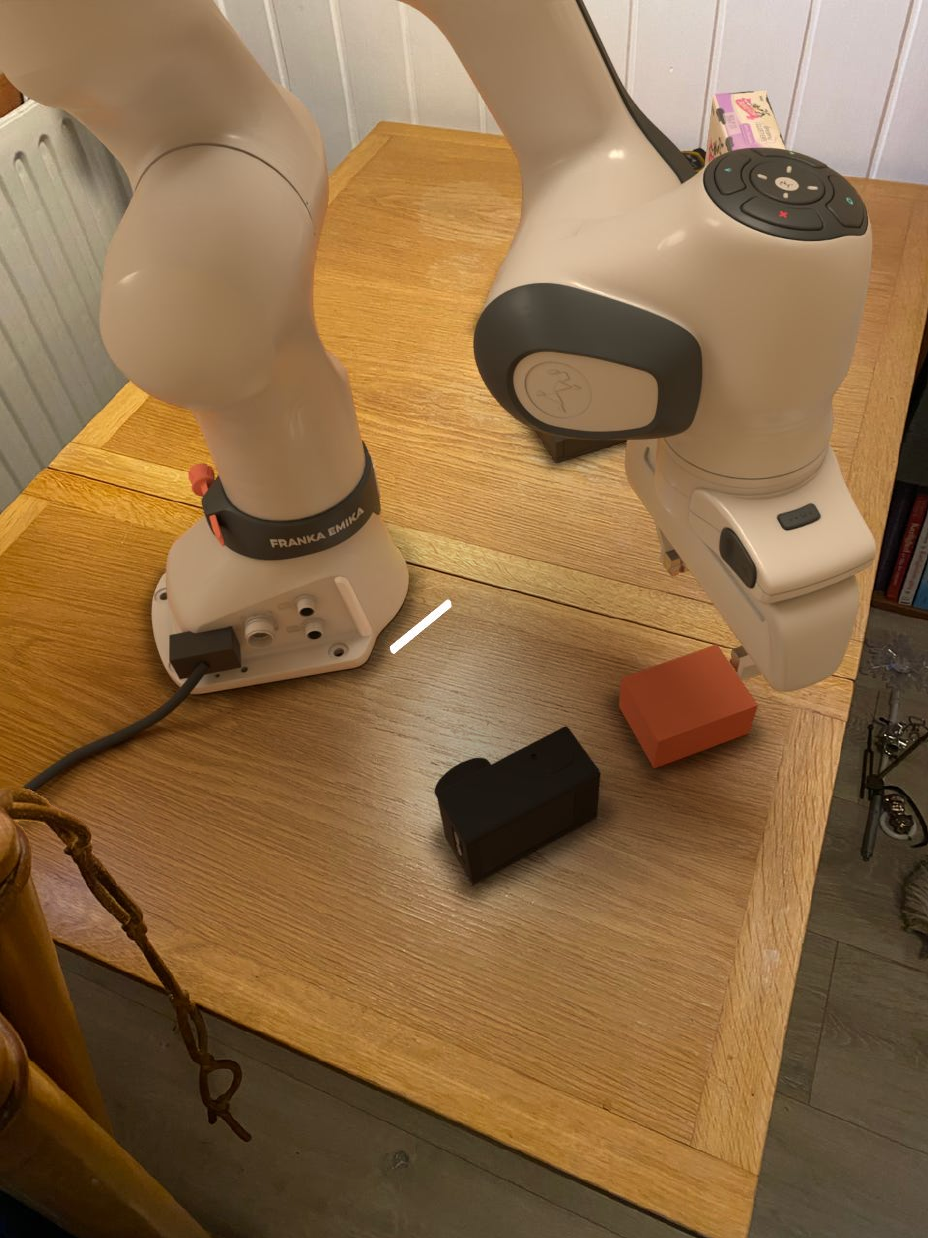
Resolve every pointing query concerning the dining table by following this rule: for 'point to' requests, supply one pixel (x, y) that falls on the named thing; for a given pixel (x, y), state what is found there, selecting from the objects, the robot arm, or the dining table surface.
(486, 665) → the dining table surface
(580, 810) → the digital camera
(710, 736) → the orange rectangular block
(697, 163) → the tape measure
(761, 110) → the candy box
